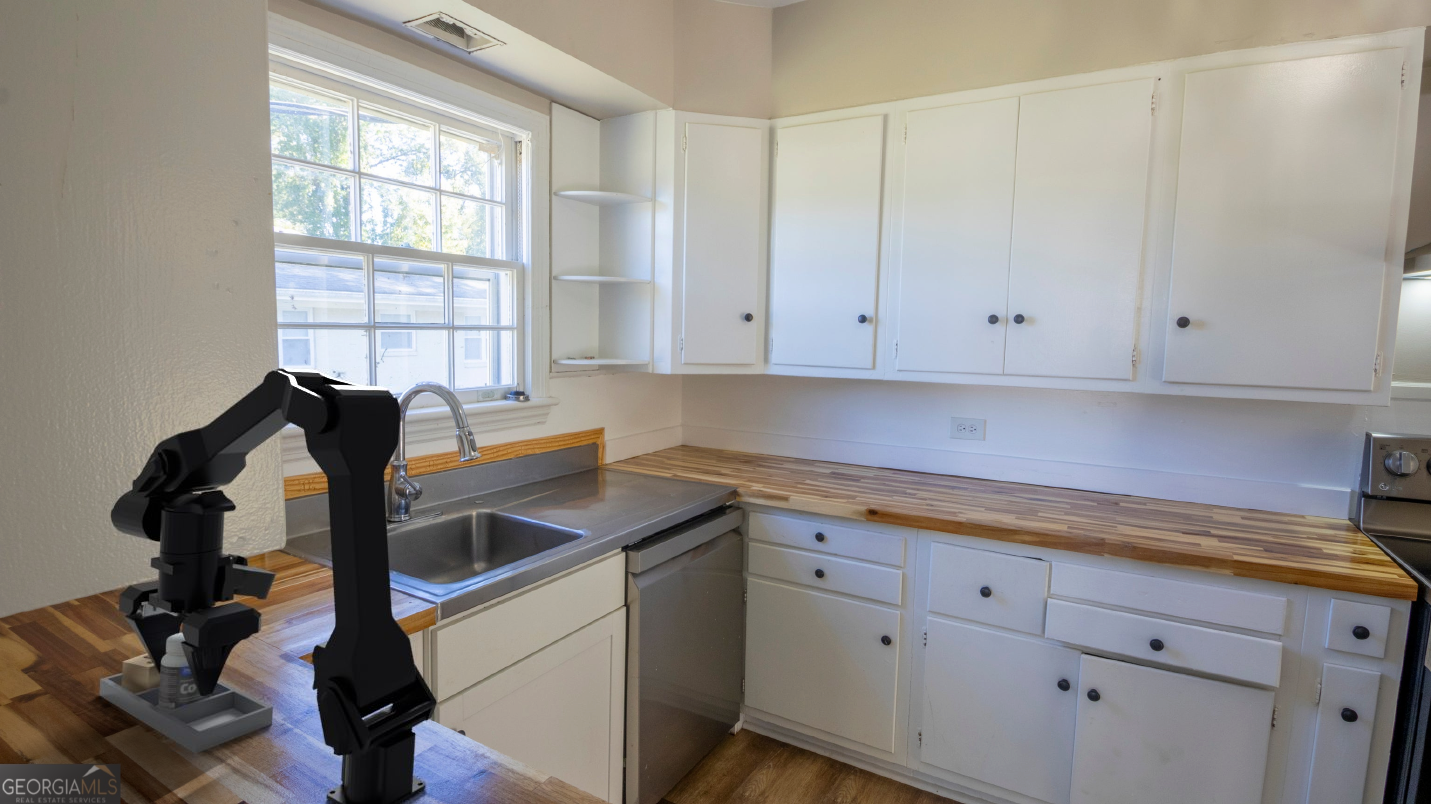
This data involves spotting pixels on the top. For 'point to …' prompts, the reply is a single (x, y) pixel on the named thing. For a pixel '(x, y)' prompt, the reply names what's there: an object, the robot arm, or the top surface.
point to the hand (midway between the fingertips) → (185, 683)
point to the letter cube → (140, 674)
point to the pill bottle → (176, 677)
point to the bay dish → (193, 714)
